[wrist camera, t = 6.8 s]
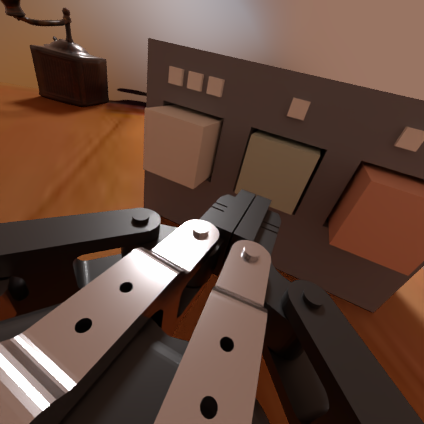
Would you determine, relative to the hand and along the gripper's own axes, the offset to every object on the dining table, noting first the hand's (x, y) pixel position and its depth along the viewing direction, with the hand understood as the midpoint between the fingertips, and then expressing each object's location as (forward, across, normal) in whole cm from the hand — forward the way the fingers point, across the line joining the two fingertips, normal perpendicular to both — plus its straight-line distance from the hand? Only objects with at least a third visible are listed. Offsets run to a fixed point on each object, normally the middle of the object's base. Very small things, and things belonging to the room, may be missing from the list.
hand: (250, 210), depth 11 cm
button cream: (+6, +7, +2) cm, 9 cm away
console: (+10, 0, +8) cm, 13 cm away
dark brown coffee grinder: (+29, +50, +8) cm, 59 cm away
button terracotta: (+6, -7, +2) cm, 9 cm away
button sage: (+7, 0, +2) cm, 8 cm away
